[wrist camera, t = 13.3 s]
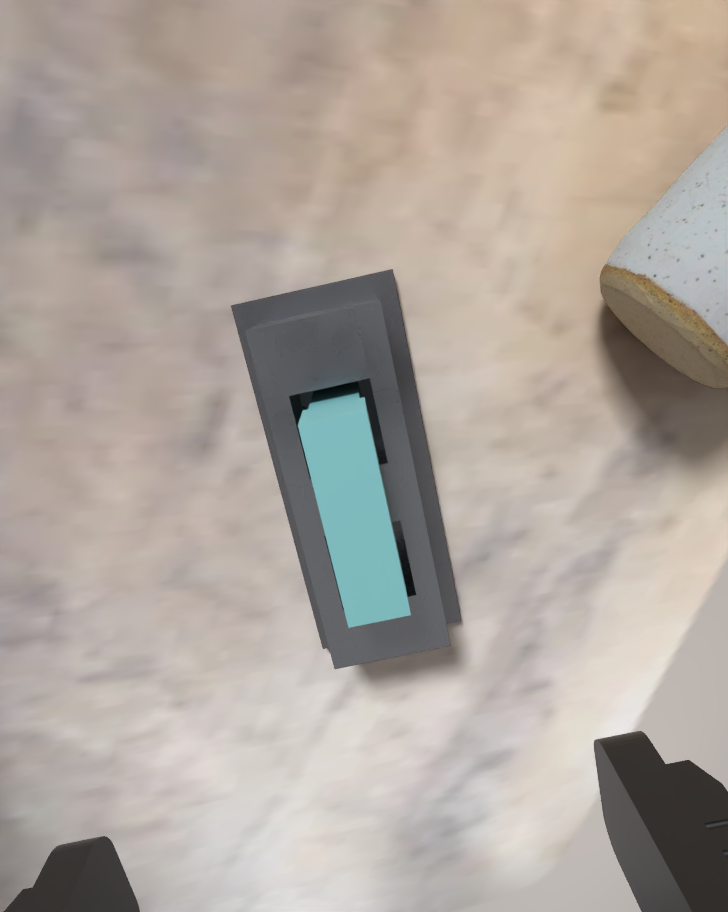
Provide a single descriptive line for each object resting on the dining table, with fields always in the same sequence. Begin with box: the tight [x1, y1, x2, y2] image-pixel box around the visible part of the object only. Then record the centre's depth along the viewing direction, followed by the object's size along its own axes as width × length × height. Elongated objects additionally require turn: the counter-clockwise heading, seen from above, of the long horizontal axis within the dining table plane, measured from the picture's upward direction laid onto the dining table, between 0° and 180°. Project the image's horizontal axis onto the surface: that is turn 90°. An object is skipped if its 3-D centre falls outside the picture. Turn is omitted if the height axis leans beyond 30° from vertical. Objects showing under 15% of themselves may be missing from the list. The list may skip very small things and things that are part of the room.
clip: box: [298, 382, 411, 628], centre depth 26 cm, size 8×2×6 cm, turn 12°
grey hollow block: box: [231, 269, 461, 669], centre depth 27 cm, size 17×7×4 cm, turn 12°
